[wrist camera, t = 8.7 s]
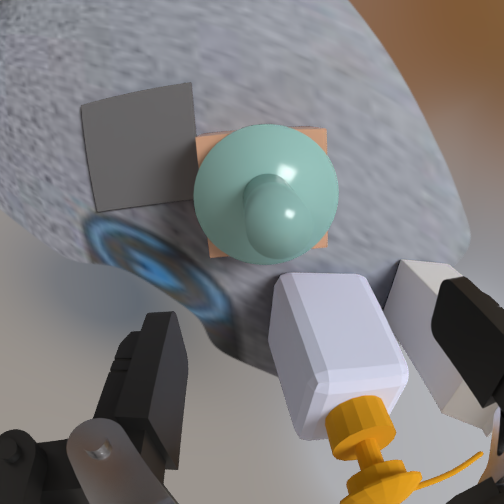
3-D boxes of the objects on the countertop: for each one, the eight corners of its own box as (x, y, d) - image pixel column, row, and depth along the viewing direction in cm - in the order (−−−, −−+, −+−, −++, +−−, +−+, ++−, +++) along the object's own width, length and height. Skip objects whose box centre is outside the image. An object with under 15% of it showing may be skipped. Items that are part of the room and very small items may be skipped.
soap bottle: (378, 339, 35) (457, 496, 15) (265, 343, 34) (293, 541, 14) (400, 269, 31) (527, 428, 11) (274, 266, 30) (331, 498, 10)
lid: (187, 131, 20) (166, 137, 14) (332, 121, 20) (374, 126, 14) (204, 264, 24) (195, 318, 18) (333, 252, 24) (365, 300, 18)
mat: (82, 105, 23) (80, 105, 22) (191, 82, 23) (191, 82, 23) (99, 210, 27) (97, 211, 26) (203, 197, 27) (202, 198, 27)
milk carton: (380, 314, 34) (459, 448, 16) (400, 257, 31) (511, 383, 13) (427, 314, 34) (509, 427, 17) (447, 262, 31) (554, 367, 14)
